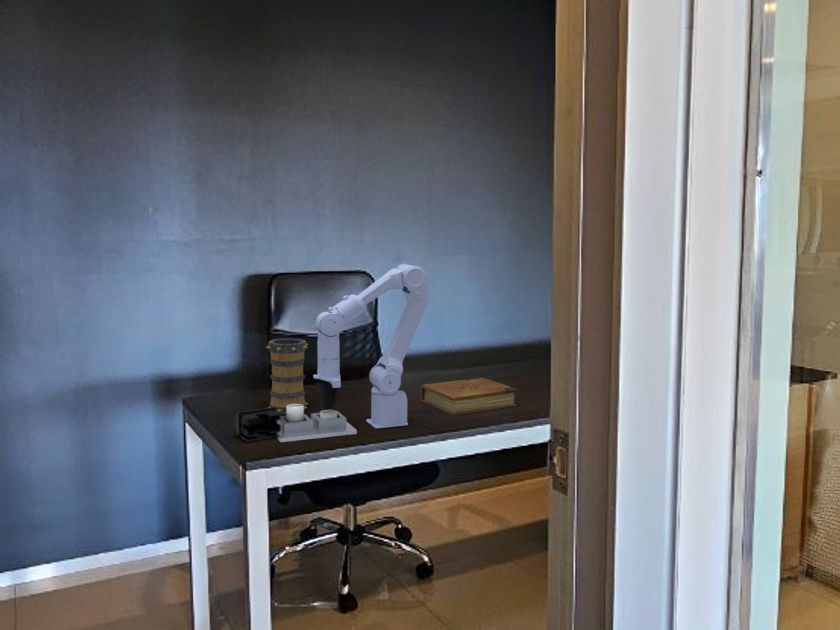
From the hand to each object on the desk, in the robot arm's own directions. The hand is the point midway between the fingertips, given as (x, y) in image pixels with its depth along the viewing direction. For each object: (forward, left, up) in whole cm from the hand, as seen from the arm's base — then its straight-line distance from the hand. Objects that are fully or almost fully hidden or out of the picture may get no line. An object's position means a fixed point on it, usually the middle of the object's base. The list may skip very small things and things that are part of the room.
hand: (328, 408), depth 195 cm
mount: (+5, 0, -6) cm, 7 cm away
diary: (-47, -11, -6) cm, 49 cm away
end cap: (+19, 0, -6) cm, 19 cm away
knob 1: (+9, 0, -3) cm, 9 cm away
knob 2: (0, 0, -5) cm, 5 cm away
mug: (+6, -25, -6) cm, 26 cm away
